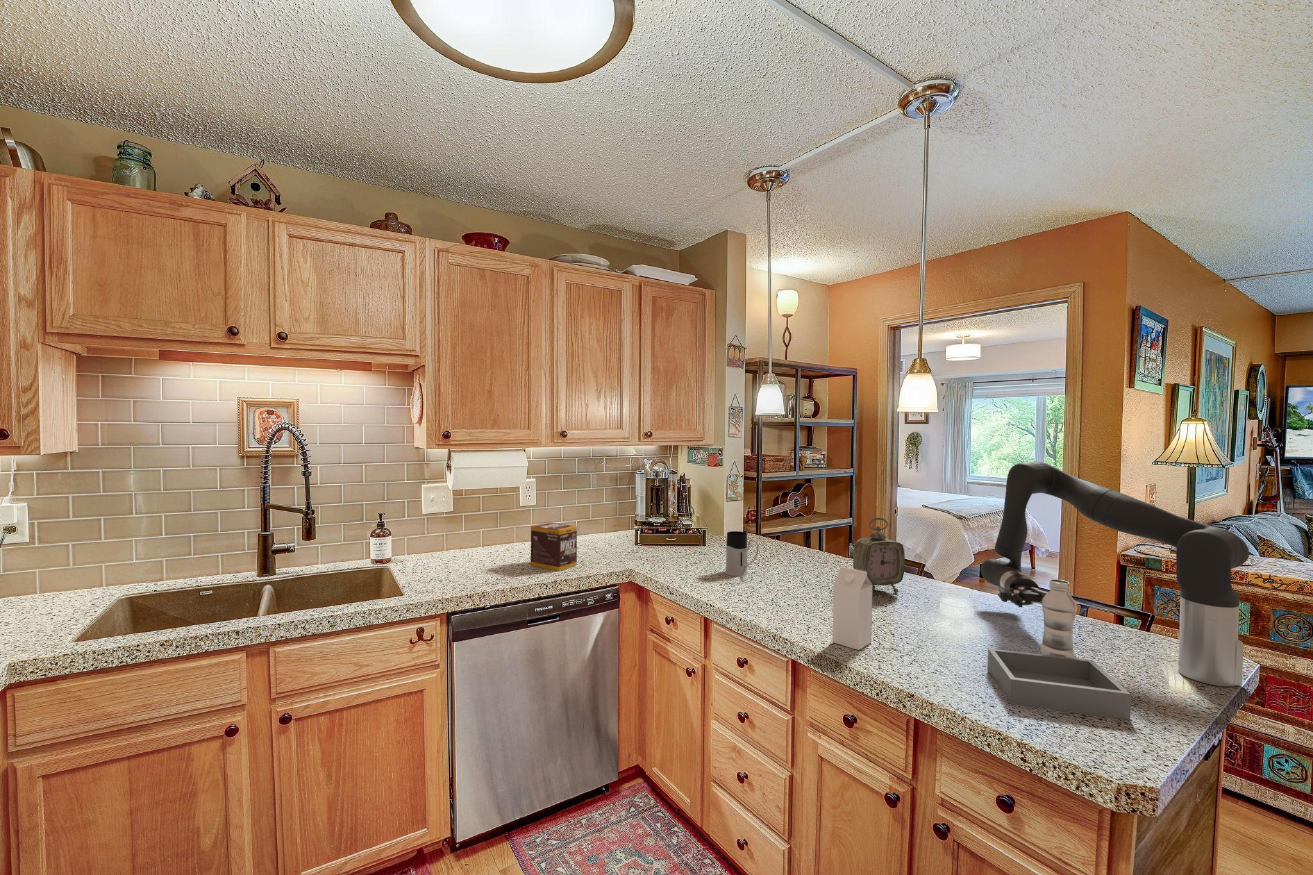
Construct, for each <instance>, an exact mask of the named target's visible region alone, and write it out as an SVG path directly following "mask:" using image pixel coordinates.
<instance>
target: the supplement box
mask: <svg viewBox="0 0 1313 875" xmlns="http://www.w3.org/2000/svg"><path fill="white" fill-rule="evenodd" d="M577 553H578V526H577V525H570V524H563V523H556V522H545V523H541V524H536V525H535V524H534V525H530V562H529V563H530V566H533V567H537V568H542V569H548V570H552V571H557V572H561V571H565V570H568V569H569V568H573V567H576V566H578V565H577V564H578V562H577V560H578V558H577V557H578V554H577Z"/></svg>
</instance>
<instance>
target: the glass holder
mask: <svg viewBox="0 0 1313 875" xmlns="http://www.w3.org/2000/svg"><path fill="white" fill-rule="evenodd" d="M751 542H755V544H756V551H755V556H754V558H753V559H752V561H750V563H748V551H749V550H750V546H751ZM758 542H759V541H757V540H755V539H750V540H749V541H748V533H747V532H745V531H741V530H739V531H738V530H737V531H736V530H734V531H732V530H731V531H728V532H727V533H726V545H725V546H726V549H725V550H726V552H725V553H726V554H725V556H726V557H725V560H726V561H725V571H724V574H726V575H728V576H731V577H733V576H734V577H744V576H747V575H749V570H748V567H750V565H752V563H754V562H755V561H756V560H757V557H758V554H759V550H760V548H759V543H758Z"/></svg>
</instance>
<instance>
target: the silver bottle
mask: <svg viewBox="0 0 1313 875" xmlns="http://www.w3.org/2000/svg"><path fill="white" fill-rule="evenodd" d="M1048 588H1049V589H1050V590H1049V591H1047V592H1048V593H1047V594H1046V595H1045V596H1044V598H1043V600H1042V605H1041V607H1042V614H1043V633H1042V634H1043V635H1042V641H1041V642H1042V643H1041V644H1040V648H1039V654H1043V655H1051V656H1060V657H1069V658H1076V655H1075V654H1076V653H1075V649H1074V639H1073V638H1074V637H1073V636H1074V635H1073V634H1074V624H1075V619H1076V615H1077V611H1078V606H1077V602H1076V601H1075V600H1074V598H1073V597H1072V595H1071V594H1070V593H1069V592H1070V591H1071V588H1070V582H1069V581H1067V580H1063V579H1055V578H1053V579H1051V578H1050V579H1049V585H1048Z"/></svg>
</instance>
